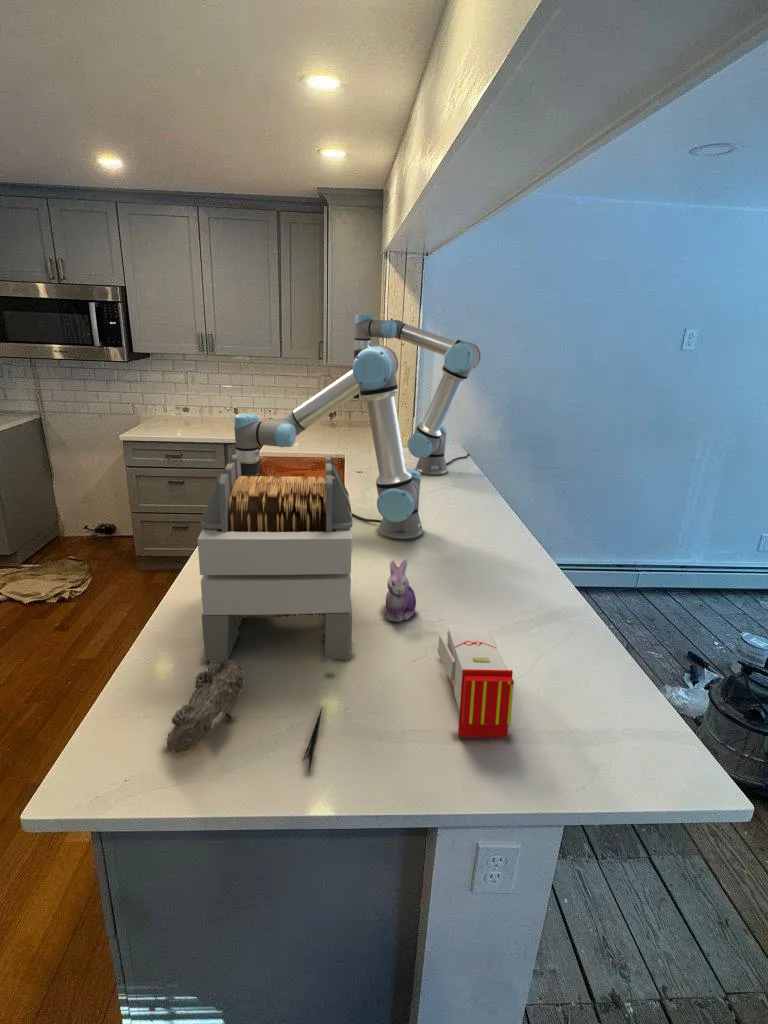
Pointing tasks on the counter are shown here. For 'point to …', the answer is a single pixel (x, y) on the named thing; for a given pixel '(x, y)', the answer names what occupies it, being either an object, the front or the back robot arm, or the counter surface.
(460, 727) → the toy
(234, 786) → the counter surface
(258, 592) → the record storage crate
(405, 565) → the figurine
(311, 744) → the feather
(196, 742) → the fossil
